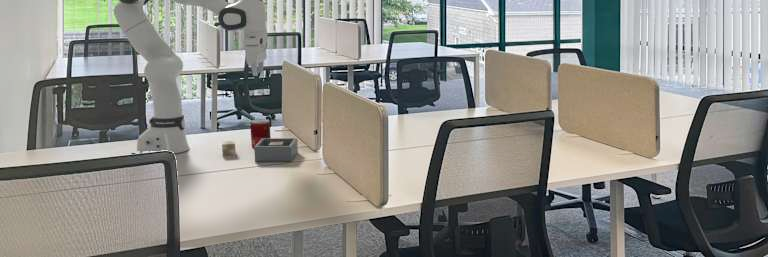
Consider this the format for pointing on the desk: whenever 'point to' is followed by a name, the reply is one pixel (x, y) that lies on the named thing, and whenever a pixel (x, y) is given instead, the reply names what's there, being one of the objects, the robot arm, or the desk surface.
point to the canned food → (259, 130)
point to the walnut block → (276, 144)
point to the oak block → (228, 148)
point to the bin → (276, 150)
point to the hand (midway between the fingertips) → (258, 74)
